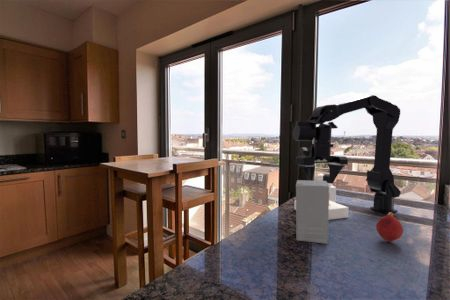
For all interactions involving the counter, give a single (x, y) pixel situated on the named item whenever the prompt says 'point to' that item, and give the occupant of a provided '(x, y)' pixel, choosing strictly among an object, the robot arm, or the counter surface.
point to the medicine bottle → (331, 188)
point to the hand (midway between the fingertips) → (320, 184)
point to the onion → (389, 228)
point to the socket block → (334, 210)
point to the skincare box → (312, 211)
